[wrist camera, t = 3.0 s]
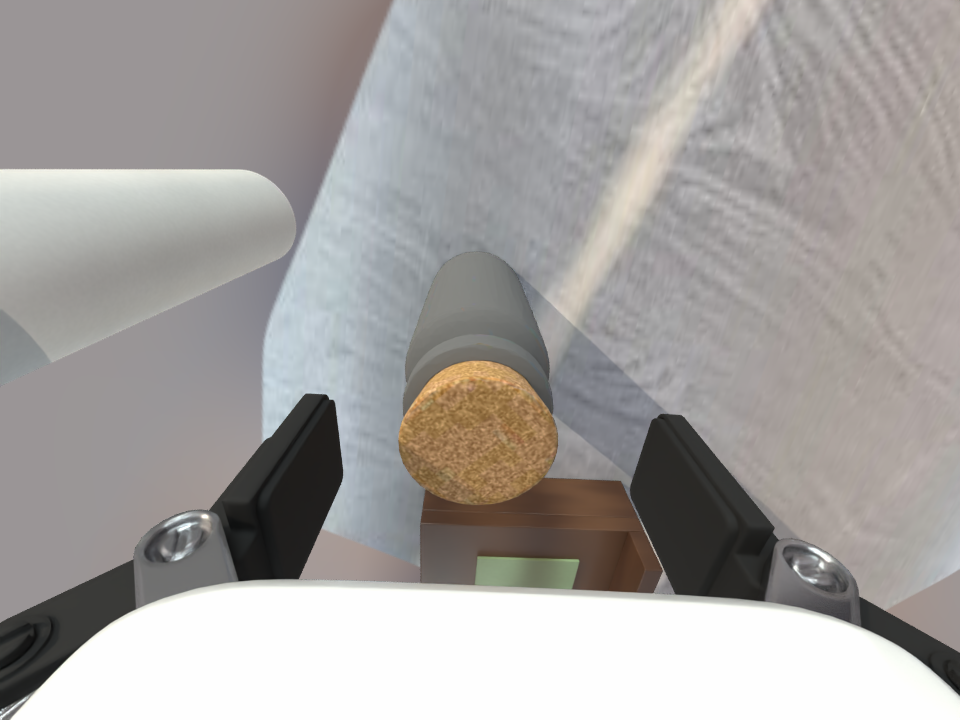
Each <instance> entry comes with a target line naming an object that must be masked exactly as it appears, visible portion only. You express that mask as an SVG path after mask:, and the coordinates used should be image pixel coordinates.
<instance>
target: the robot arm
mask: <svg viewBox="0 0 960 720" xmlns="http://www.w3.org/2000/svg"><path fill="white" fill-rule="evenodd" d="M342 479H343V465H342V457H341V449H340V440H339V432H338V424H337V415H336V407H335V402H334V400H329V397H328V396H327V395H324V394H305V395H304V396H303V397H302V398H301V400H300V401H299V402H298V403H297V405H296V406H295V407H294V409H293V410H292V411H291V412H290V414H289V415H288V416H287V418H286V419H285V420H284V421H283V423H282V424H281V425H280V426H279V428H278V429H277V430H276V432H275V433H274V434H273V435H272V437H270V438H268V439H266V440H265V441H264V442H263V443H262V445H261V446H260V447H259V448H258V450H257V451H256V452H255V454H254V455H253V456H252V457H251V458H250V460H249V461H248V462H247V463H246V465H245V466H244V467H243V469H242V470H241V471H240V472H239V473H238V475H237V476H236V477H235V478H234V480H233V481H232V482H231V483H230V485H229V486H228V487H227V489H226V490H225V491H224V492H223V493H222V495H221V496H220V497H219V499H218V500H217V501H216V502H215V504H214V505H213V506H212V507H211V509H210V510H209V511H208V510H191V511H186V512H183V513H179V514H176V515H174V516H172V517H170V518H168V519H165V520H163V521H162V522H160V523H159V524H157V525H156V526H155V527H153V528H151V529H150V530H149V531H148V532H147V533H146V534H145V535H144V536H143V537H142V538H141V540H140V541H139V543H138V544H137V546H136V547H135V551H134V556H133V558H134V559H133V560H131V561H129V562H127V563H125V564H123V565H121V566H118V567H116V568H114V569H112V570H110V571H108V572H106V573H104V574H102V575H99V576H97V577H95V578H93V579H91V580H89V581H87V582H85V583H82V584H80V585H78V586H76V587H74V588H72V589H70V590H68V591H65V592H63V593H61V594H59V595H57V596H55V597H53V598H51V599H49V600H46V601H44V602H42V603H40V604H38V605H36V606H34V607H32V608H30V609H27V610H25V611H23V612H21V613H19V614H17V615H15V616H12V617H10V618H8V619H6V620H5V621H3V622H1V623H0V720H960V653H959V652H957V651H956V650H954V649H952V648H950V647H949V646H947V645H945V644H943V643H941V642H940V641H938V640H936V639H934V638H932V637H931V636H929V635H927V634H925V633H924V632H922V631H920V630H918V629H916V628H915V627H913V626H911V625H909V624H908V623H906V622H904V621H902V620H900V619H899V618H897V617H895V616H893V615H891V614H890V613H888V612H886V611H884V610H883V609H881V608H879V607H877V606H876V605H874V604H872V603H870V602H868V601H867V600H865V599H863V598H861V597H859V590H858V587H857V583H856V580H855V579H854V578H853V576H852V575H851V573H850V572H849V570H848V569H847V568H846V567H845V566H844V565H843V564H842V563H841V562H840V561H838V560H837V559H836V558H834V557H833V556H832V555H830V554H829V553H828V552H826V551H824V550H822V549H821V548H819V547H817V546H815V545H813V544H810V543H808V542H805V541H802V540H798V539H793V538H785V539H781V540H778V539H777V537H776V536H775V535H774V534H773V533H772V532H773V531H774V529H775V527H774V526H773V525H772V524H771V523H770V521H769V520H768V519H767V518H766V516H765V515H764V514H763V513H762V512H761V510H760V509H759V508H758V507H757V506H756V504H755V503H754V502H753V501H752V499H751V498H750V497H749V496H748V495H747V493H746V492H745V491H744V490H743V488H742V487H741V486H740V485H739V484H738V482H737V481H736V480H735V479H734V478H733V476H732V475H731V474H730V473H729V471H728V470H727V469H726V468H725V467H724V465H723V464H722V463H721V462H720V460H719V459H718V458H717V457H716V456H715V454H714V453H713V452H712V451H711V450H710V448H709V447H708V446H707V445H706V443H705V442H704V441H703V440H702V439H701V437H700V436H699V435H698V434H697V432H696V431H695V430H694V429H693V428H692V426H691V425H690V424H689V423H688V422H687V420H686V419H685V418H684V417H683V416H682V415H671V414H660V415H659V416H658V417H657V419H656V418H655V419H653V420H652V422H651V424H650V427H649V430H648V433H647V437H646V440H645V443H644V446H643V449H642V452H641V455H640V458H639V461H638V464H637V467H636V471H635V474H634V477H633V480H632V483H631V487H630V494H631V498H632V501H633V503H634V505H635V507H636V509H637V511H638V514H639V516H640V518H641V520H642V522H643V525H644V527H645V529H646V531H647V533H648V535H649V538H650V540H651V542H652V544H653V546H654V548H655V551H656V553H657V555H658V557H659V559H660V562H661V564H662V566H663V568H664V570H665V572H666V575H667V577H668V579H669V581H670V583H671V586H672V588H673V590H674V592H675V594H676V595H675V594H654V593H634V592H614V591H594V590H574V589H551V588H529V587H506V586H483V585H460V584H434V583H408V582H382V581H353V580H307V579H304V580H303V579H299V577H300V575H301V573H302V571H303V568H304V566H305V564H306V562H307V559H308V557H309V555H310V553H311V550H312V548H313V546H314V543H315V541H316V539H317V536H318V535H319V532H320V530H321V528H322V526H323V523H324V521H325V519H326V517H327V514H328V512H329V510H330V508H331V505H332V503H333V501H334V499H335V496H336V494H337V492H338V490H339V487H340V485H341V482H342Z"/></svg>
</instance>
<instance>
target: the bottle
mask: <svg viewBox="0 0 960 720" xmlns="http://www.w3.org/2000/svg"><path fill="white" fill-rule="evenodd" d="M549 369H550V368H549V358H548V353H547V350H546V347H545V344H544V341H543V339H542V336H541V333H540V331H539V328H538V325H537V323H536V320H535V318H534V315H533V313H532V310H531V308H530V305H529V303H528V301H527V298H526V296H525V293H524V291H523V289H522V286H521V284H520V281H519V279H518V277H517V276H516V274H515V272H514V271H513V270H512V268H511V267H510V266H509V265H508V264H507V263H506V262H505V261H503V260H502V259H500V258H499V257H497V256H495V255H492V254H489V253H485V252H468V253H463V254H460V255H458V256H456V257H454V258H452V259H451V260H449V261H448V262H447V263H446V264H444V265H443V266H442V268H441V269H440V270H439V272H438V273H437V275H436V277H435V279H434V281H433V283H432V285H431V288H430V290H429V293H428V296H427V298H426V301H425V304H424V306H423V309H422V312H421V314H420V317H419V320H418V323H417V326H416V328H415V331H414V334H413V337H412V340H411V342H410V346H409V349H408V352H407V357H406V364H405V374H406V382H407V385H406V388H405V392H404V397H403V416H404V419H403V421H402V423H401V427H400V431H399V452H400V455H401V458H402V461H403V464H404V465H405V467H406V469H407V470H408V472H409V473H410V475H411V476H412V477H413V478H414V479H415V480H416V481H417V482H418V483H419V485H420V486H422V487H423V488H425V489H426V490H428V491H429V492H431V493H432V494H434V495H436V496H438V497H440V498H443V499H445V500H448V501H452V502H456V503H460V504H470V505H485V504H494V503H500V502H503V501H507V500H510V499H512V498H515V497H518V496H519V495H521V494H523V493H525V492H526V491H528V490H530V489H531V488H532V487H534V486H535V485H536V484H537V483H538V482H539V481H540V480H541V479H542V478H543V477H544V476H545V475H546V473H547V472H548V470H549V469H550V467H551V465H552V463H553V462H554V459H555V456H556V453H557V448H558V433H557V427H556V424H555V421H554V419H553V417H552V414H553V398H552V392H551V389H550V385H549V382H548V380H549Z"/></svg>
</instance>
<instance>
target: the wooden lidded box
mask: <svg viewBox="0 0 960 720" xmlns="http://www.w3.org/2000/svg"><path fill="white" fill-rule="evenodd" d="M420 560H421V583H434V584H460V585H483V586H506V587H529V588H551V589H574V590H594V591H614V592H634V593H654V590H655V588H656V586H657V583H658V581H659V579H660V576H661V574H662V572H663V570H662V568H661V566H660V564H659V561H658V559H657V557H656V555H655V553H654V551H653V549H652V547H651V544H650V542H649V540H648V538H647V536H646V534H645V532H644V530H643V527H642V525H641V523H640V521H639V519H638V517H637V515H636V513H635V511H634V508H633V506H632V504H631V502H630V500H629V498H628V496H627V494H626V491H625V489H624V487H623V485H622V483H621V481H605V480H580V479H556V478H542V479H541V480H540V481H539V482H538V483H537V484H536V485H535V486H534V487H532V488H531V489H530V490H528V491H526V492H525V493H523V494H521V495H519V496H518V497H515V498H512V499H510V500H507V501H503V502H500V503H494V504H485V505H470V504H460V503H456V502H452V501H448V500H445V499H443V498H440V497H438V496H436V495H434V494H432V493H431V492H429V491H428V490H425V496H424V503H423V510H422V516H421V523H420Z"/></svg>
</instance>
